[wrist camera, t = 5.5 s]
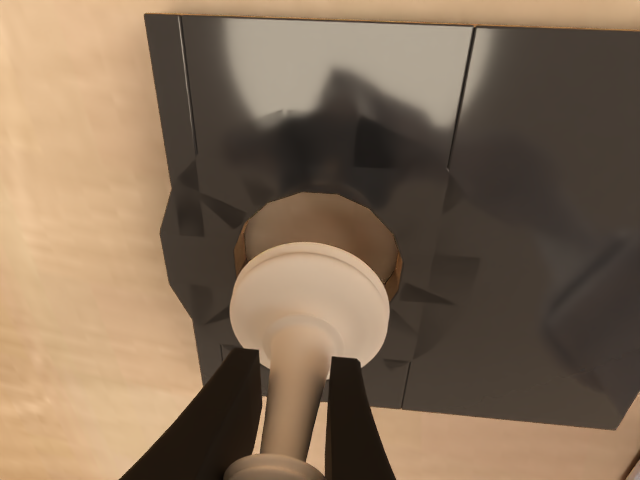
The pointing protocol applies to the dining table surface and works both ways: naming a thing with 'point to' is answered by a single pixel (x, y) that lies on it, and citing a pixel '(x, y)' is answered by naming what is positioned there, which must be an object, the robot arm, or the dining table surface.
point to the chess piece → (302, 342)
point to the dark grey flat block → (424, 195)
